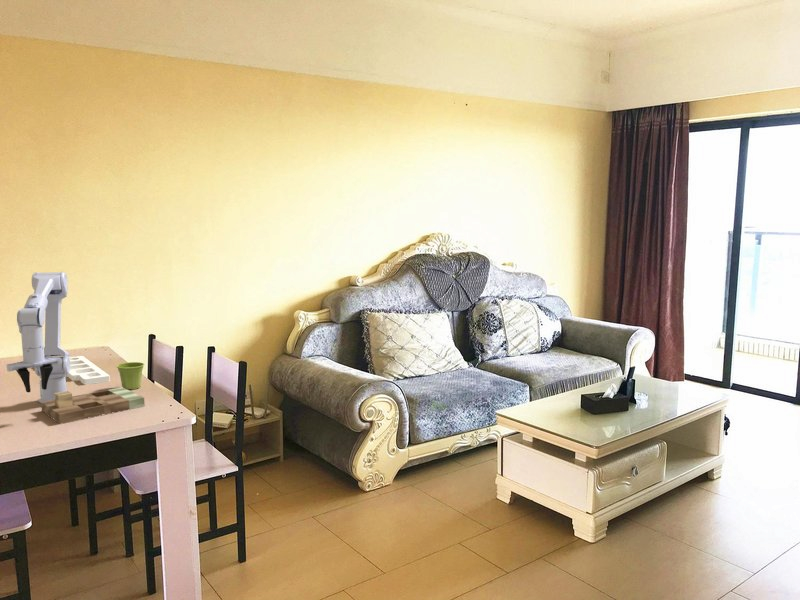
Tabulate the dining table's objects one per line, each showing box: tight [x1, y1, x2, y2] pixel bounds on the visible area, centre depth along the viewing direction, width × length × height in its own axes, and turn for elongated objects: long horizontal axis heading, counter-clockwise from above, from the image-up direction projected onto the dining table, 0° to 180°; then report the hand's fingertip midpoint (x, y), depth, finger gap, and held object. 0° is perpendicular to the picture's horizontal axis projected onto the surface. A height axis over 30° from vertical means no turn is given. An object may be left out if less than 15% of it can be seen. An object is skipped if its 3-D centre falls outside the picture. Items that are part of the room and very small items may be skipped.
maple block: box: [54, 390, 73, 408], centre depth 207 cm, size 4×4×4 cm
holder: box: [65, 355, 111, 386], centre depth 261 cm, size 45×18×3 cm, turn 38°
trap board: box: [40, 386, 146, 424], centre depth 214 cm, size 18×26×3 cm
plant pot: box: [116, 361, 145, 391], centre depth 239 cm, size 9×9×9 cm
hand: (36, 390), depth 201 cm, fingers open, 4 cm apart
